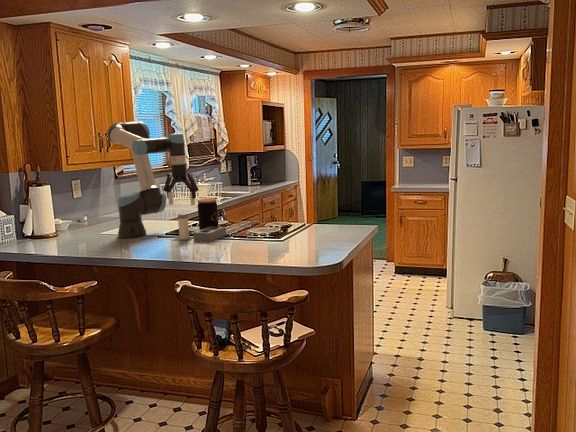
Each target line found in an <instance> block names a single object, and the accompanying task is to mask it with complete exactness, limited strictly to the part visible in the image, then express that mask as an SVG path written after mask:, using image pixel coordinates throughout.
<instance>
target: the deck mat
mask: <svg viewBox="0 0 576 432" xmlns="http://www.w3.org/2000/svg"><path fill="white" fill-rule="evenodd" d="M192 240H194V237H193V236H189V239H186V240H182V239H180V236H179V237H176V238H173V239H171V241H175V242H189V241H192Z"/></svg>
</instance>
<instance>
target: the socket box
mask: <svg viewBox="0 0 576 432" xmlns="http://www.w3.org/2000/svg"><path fill="white" fill-rule="evenodd" d="M192 234H193V236H192V237H194V239H193V241H194V242H206V243H211V242H213V241H217V240H219V239H221V238H223V237H225V236H227V227H226V226H219V227H213V226H209V227H207V228H204V229H201V230H200V229H199V230H196V231H193V232H192Z"/></svg>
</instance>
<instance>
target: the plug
mask: <svg viewBox="0 0 576 432" xmlns="http://www.w3.org/2000/svg"><path fill="white" fill-rule="evenodd" d="M177 220H178V221H177V222H178V235H179V237H180V239H182V240H186V239H189V237H190V229H189V227H190V226H189V217H188V213H180V214H178V215H177Z"/></svg>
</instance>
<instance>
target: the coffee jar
mask: <svg viewBox="0 0 576 432" xmlns="http://www.w3.org/2000/svg"><path fill="white" fill-rule="evenodd" d="M196 201H197V203H198V204H197V214H198V216H197V217H198V226H199V230H201V229H204V228H207V227H209V226H213V227H220V226H219V213H218V211H219V210H218V204H217V201H218V199H217V198H201V199H198V200H196Z"/></svg>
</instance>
